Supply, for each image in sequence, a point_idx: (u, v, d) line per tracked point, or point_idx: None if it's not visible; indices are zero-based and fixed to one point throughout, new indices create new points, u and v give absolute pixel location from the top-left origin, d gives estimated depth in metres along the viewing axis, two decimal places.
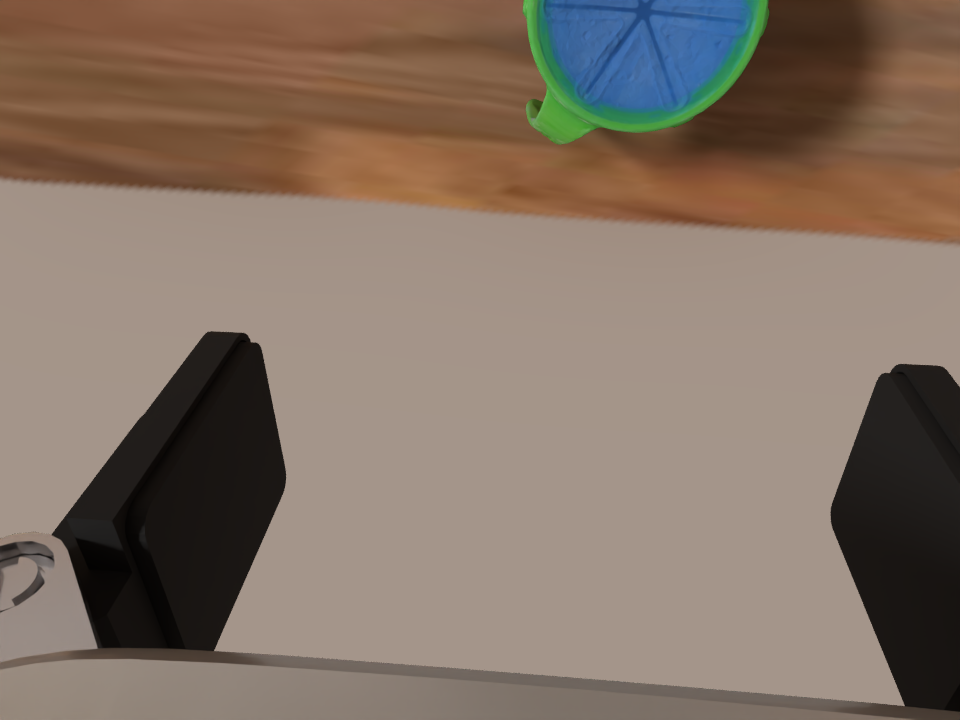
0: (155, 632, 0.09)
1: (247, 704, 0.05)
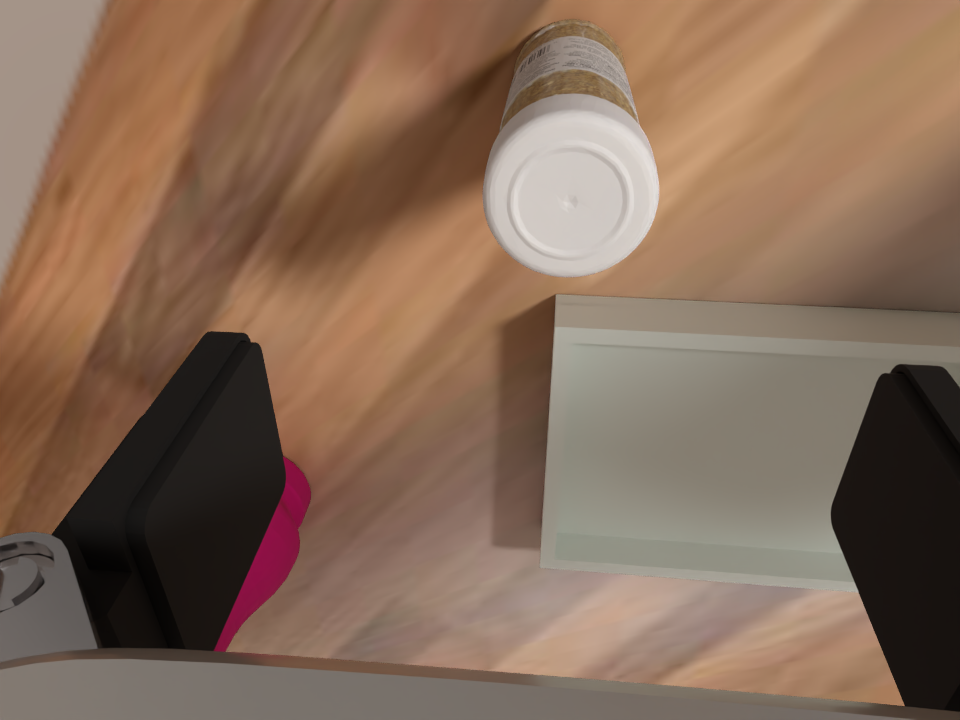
0: (155, 632, 0.09)
1: (247, 704, 0.05)
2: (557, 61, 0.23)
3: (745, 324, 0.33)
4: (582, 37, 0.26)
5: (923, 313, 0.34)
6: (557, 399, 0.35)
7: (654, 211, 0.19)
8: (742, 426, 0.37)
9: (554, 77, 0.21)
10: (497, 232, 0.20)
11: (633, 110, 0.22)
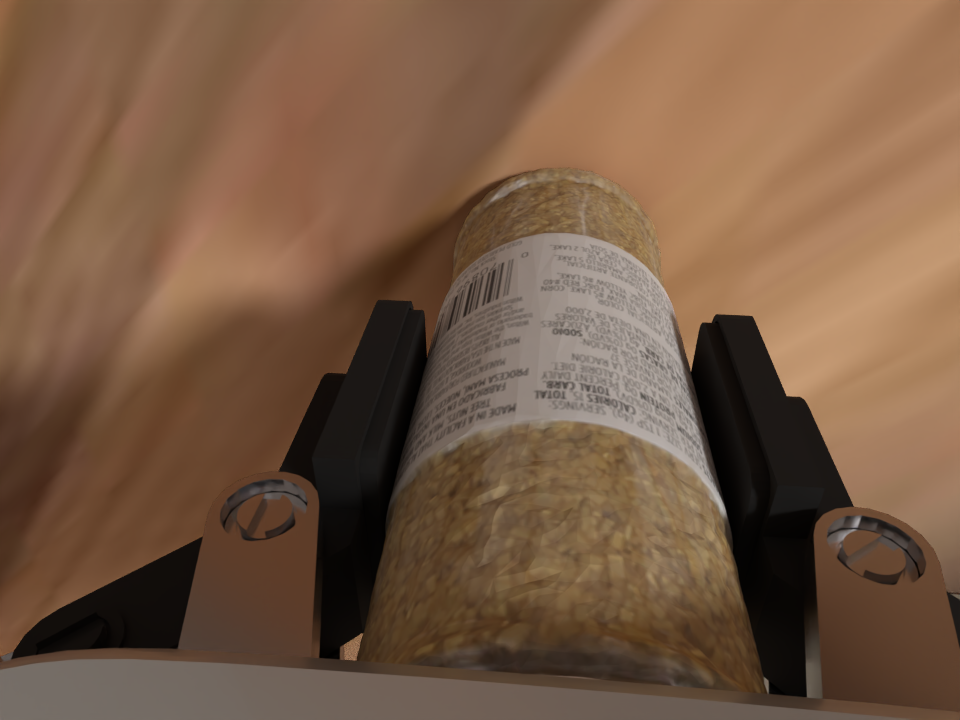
0: (368, 569, 0.09)
1: (247, 704, 0.05)
2: (524, 360, 0.09)
3: None
4: (582, 238, 0.12)
5: None
6: None
7: None
8: None
9: (512, 458, 0.08)
10: None
11: (719, 509, 0.09)
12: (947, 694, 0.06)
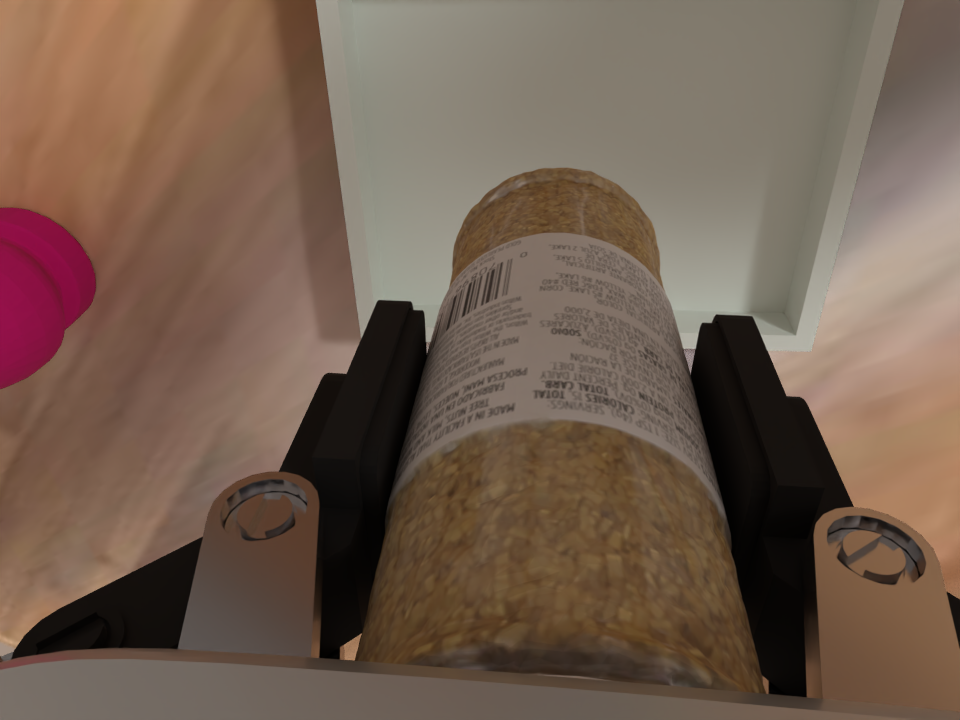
0: (368, 568, 0.09)
1: (247, 704, 0.05)
2: (523, 360, 0.09)
3: None
4: (581, 238, 0.12)
5: None
6: (333, 66, 0.27)
7: None
8: (585, 119, 0.30)
9: (511, 458, 0.08)
10: None
11: (717, 509, 0.09)
12: (947, 694, 0.06)
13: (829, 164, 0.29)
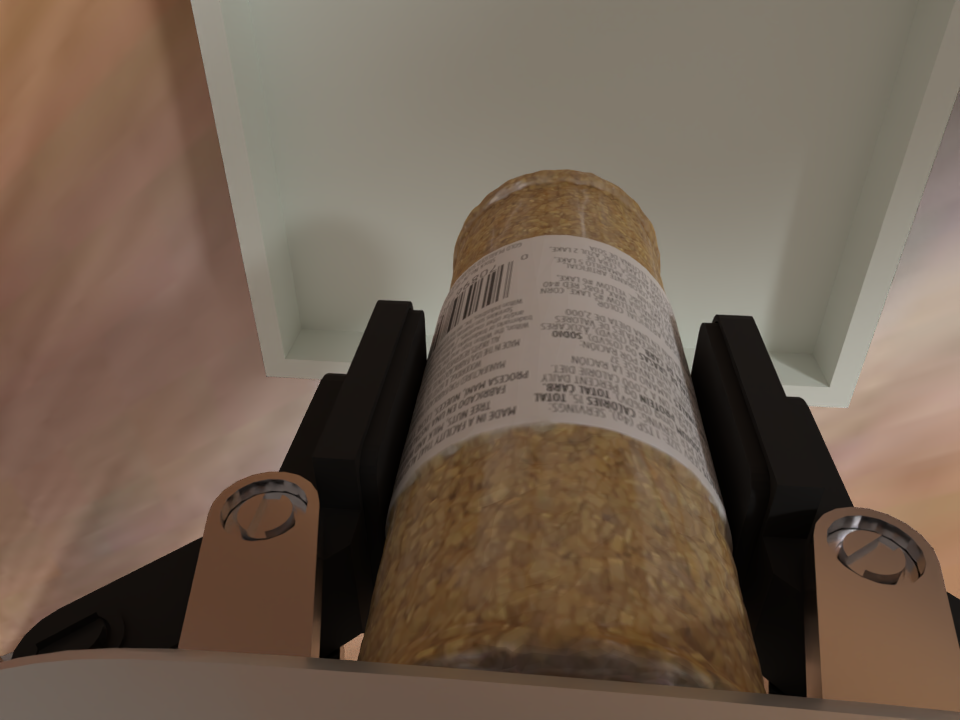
0: (368, 568, 0.09)
1: (247, 704, 0.05)
2: (524, 363, 0.09)
3: None
4: (582, 240, 0.12)
5: None
6: (204, 8, 0.20)
7: None
8: (558, 94, 0.22)
9: (512, 461, 0.08)
10: None
11: (718, 512, 0.09)
12: (946, 694, 0.06)
13: (887, 163, 0.21)
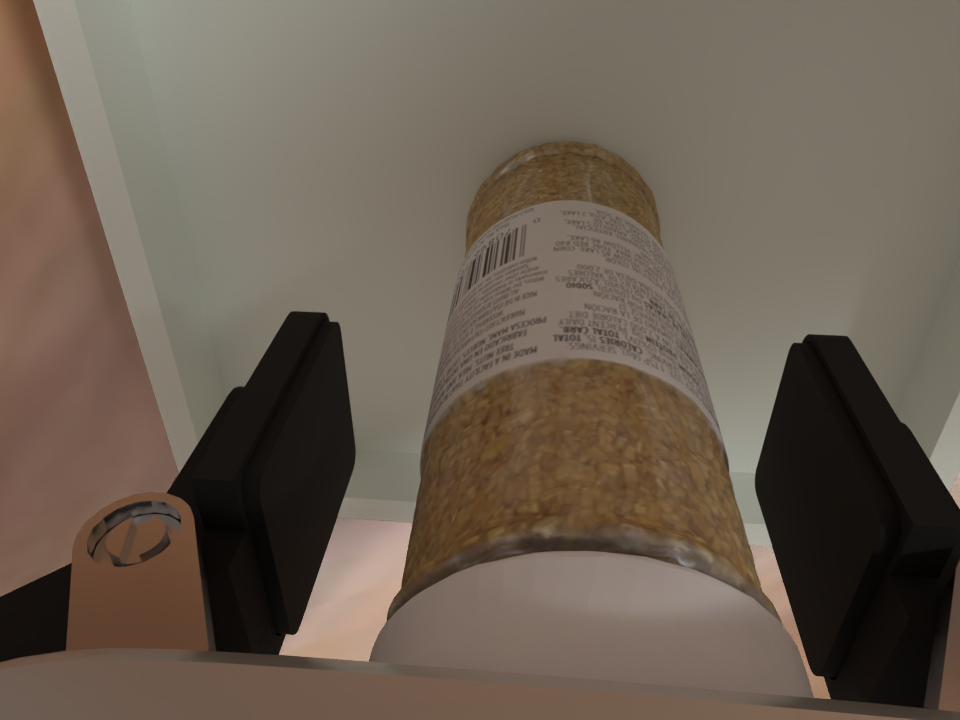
0: (260, 591, 0.09)
1: (247, 704, 0.05)
2: (542, 310, 0.10)
3: None
4: (589, 205, 0.13)
5: None
6: (70, 66, 0.14)
7: None
8: None
9: (536, 390, 0.09)
10: None
11: (716, 436, 0.10)
12: None
13: None
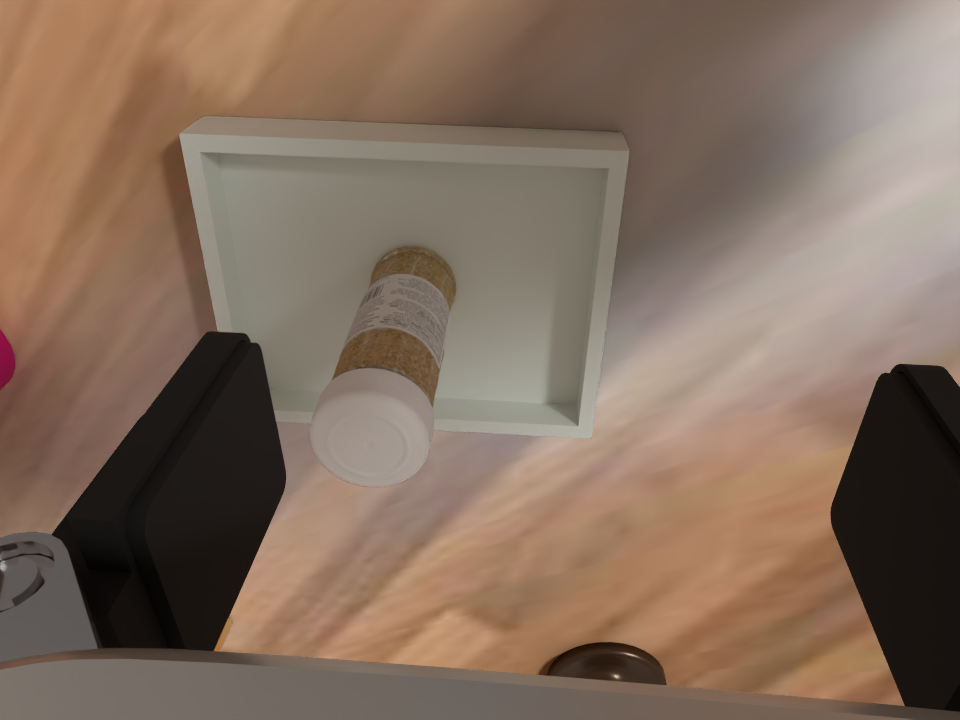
0: (155, 632, 0.09)
1: (247, 704, 0.05)
2: (379, 313, 0.31)
3: (371, 134, 0.34)
4: (410, 276, 0.34)
5: (553, 130, 0.35)
6: (202, 218, 0.35)
7: (427, 449, 0.27)
8: None
9: (370, 336, 0.30)
10: (321, 461, 0.28)
11: (431, 353, 0.31)
12: None
13: (591, 301, 0.37)
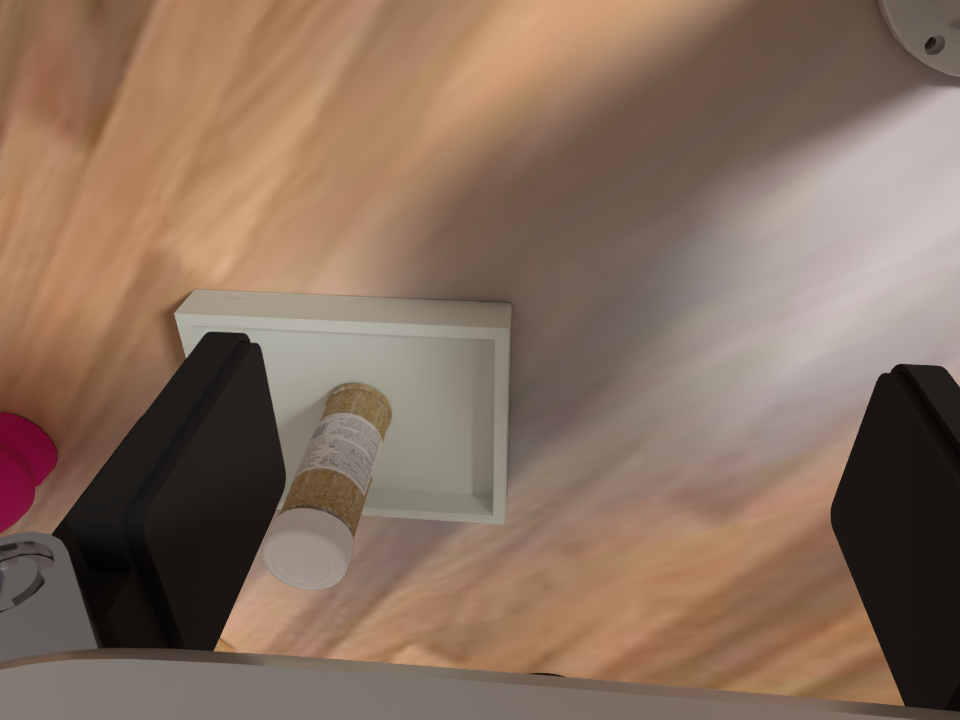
0: (155, 632, 0.09)
1: (247, 704, 0.05)
2: (320, 454, 0.42)
3: (317, 311, 0.44)
4: (349, 415, 0.45)
5: (458, 302, 0.45)
6: None
7: (345, 567, 0.38)
8: None
9: (310, 476, 0.41)
10: (271, 573, 0.39)
11: (357, 486, 0.42)
12: None
13: None
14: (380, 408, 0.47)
